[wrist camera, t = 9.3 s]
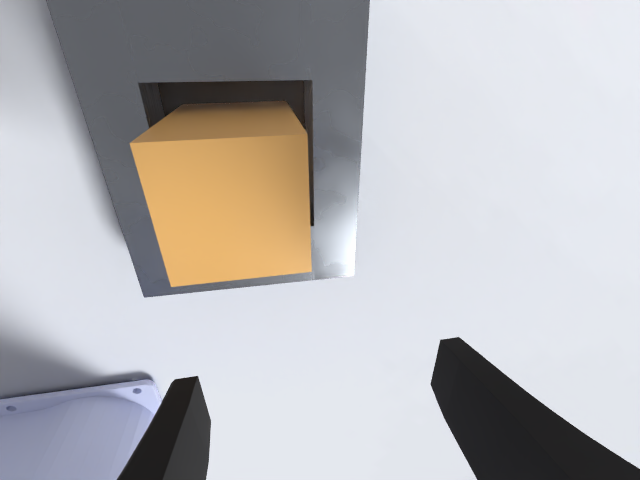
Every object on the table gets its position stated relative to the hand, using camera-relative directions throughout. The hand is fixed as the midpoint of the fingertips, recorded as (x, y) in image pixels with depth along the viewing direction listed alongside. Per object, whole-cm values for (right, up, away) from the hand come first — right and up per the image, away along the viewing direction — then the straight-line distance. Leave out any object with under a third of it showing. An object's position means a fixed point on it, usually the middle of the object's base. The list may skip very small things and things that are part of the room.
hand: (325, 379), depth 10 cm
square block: (-4, +8, +6) cm, 11 cm away
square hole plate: (-4, +8, +5) cm, 11 cm away
